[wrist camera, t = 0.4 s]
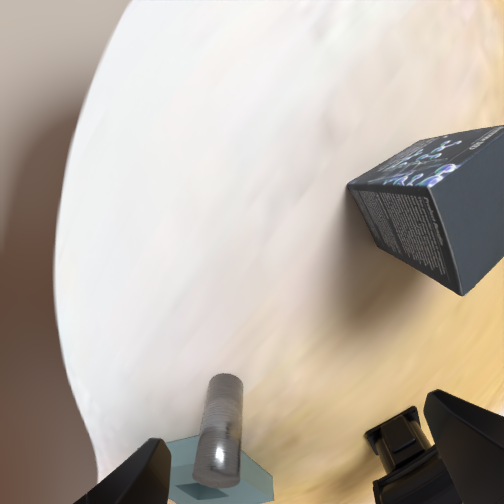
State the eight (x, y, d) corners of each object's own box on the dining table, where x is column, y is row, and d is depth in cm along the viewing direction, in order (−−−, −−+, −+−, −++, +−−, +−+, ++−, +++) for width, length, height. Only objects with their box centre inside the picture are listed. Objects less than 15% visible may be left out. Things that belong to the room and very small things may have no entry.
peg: (249, 391, 23) (249, 483, 13) (221, 401, 23) (210, 490, 13) (231, 368, 22) (223, 464, 12) (202, 380, 23) (182, 471, 13)
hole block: (272, 476, 27) (274, 500, 23) (196, 491, 28) (192, 512, 24) (219, 429, 24) (215, 458, 20) (137, 448, 25) (129, 471, 22)
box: (417, 138, 18) (516, 121, 8) (444, 201, 19) (541, 219, 9) (342, 183, 19) (429, 185, 9) (376, 249, 20) (464, 302, 10)
